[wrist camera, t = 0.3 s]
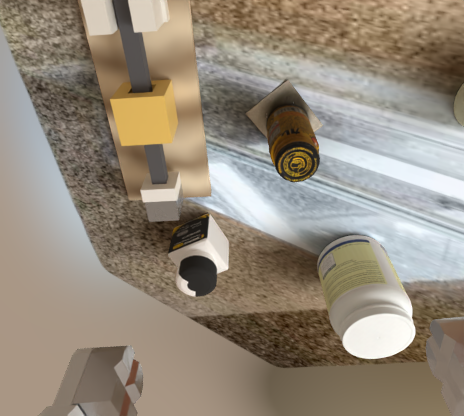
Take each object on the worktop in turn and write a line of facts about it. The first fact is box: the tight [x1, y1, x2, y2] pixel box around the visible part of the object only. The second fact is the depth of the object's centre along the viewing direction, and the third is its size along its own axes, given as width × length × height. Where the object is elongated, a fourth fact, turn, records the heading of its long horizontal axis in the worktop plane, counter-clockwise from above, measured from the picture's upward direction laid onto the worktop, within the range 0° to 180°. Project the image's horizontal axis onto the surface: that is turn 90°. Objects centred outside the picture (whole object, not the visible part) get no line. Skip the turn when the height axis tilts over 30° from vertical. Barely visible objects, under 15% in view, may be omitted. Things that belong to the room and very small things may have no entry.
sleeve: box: [110, 79, 178, 146], centre depth 50 cm, size 6×6×6 cm
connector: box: [145, 184, 184, 222], centre depth 58 cm, size 3×4×6 cm
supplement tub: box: [317, 235, 415, 359], centre depth 63 cm, size 12×12×17 cm
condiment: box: [246, 80, 323, 182], centre depth 50 cm, size 7×8×12 cm
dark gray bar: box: [113, 0, 168, 184], centre depth 50 cm, size 26×2×2 cm, turn 4°
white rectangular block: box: [140, 171, 181, 202], centre depth 56 cm, size 2×5×5 cm, turn 94°
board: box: [78, 0, 211, 200], centre depth 54 cm, size 29×13×1 cm, turn 4°
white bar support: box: [81, 0, 170, 36], centre depth 43 cm, size 4×8×7 cm, turn 94°
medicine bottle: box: [168, 213, 229, 296], centre depth 62 cm, size 7×7×12 cm
